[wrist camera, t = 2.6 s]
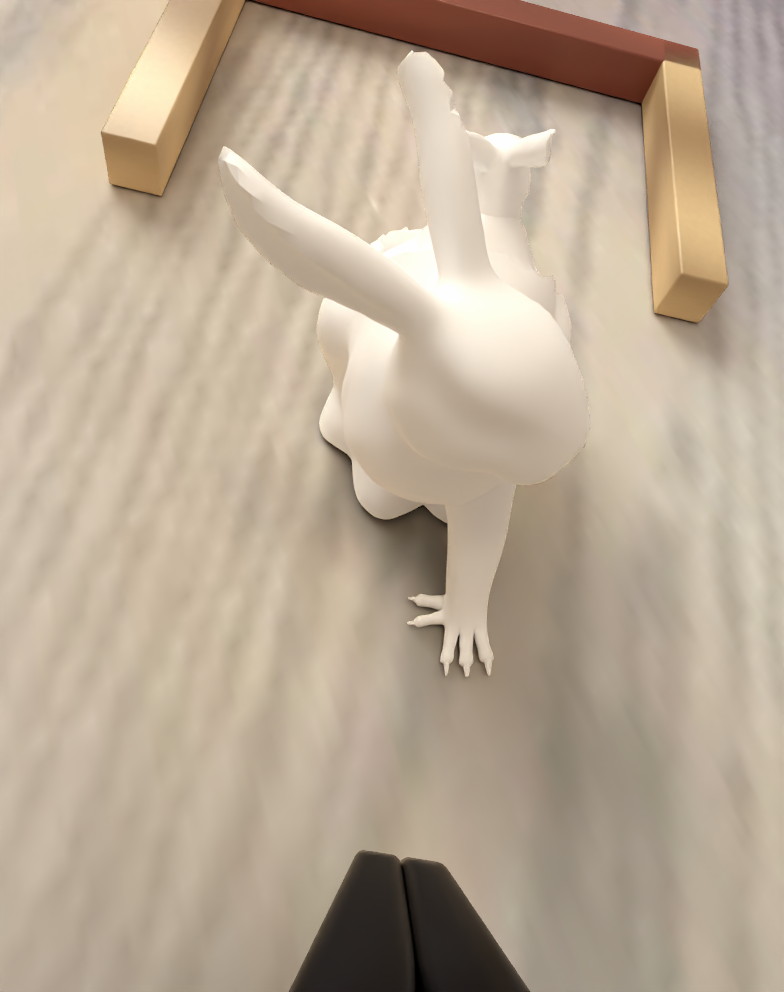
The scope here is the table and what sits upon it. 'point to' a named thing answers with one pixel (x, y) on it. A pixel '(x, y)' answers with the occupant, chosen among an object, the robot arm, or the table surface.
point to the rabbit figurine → (437, 343)
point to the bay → (485, 37)
